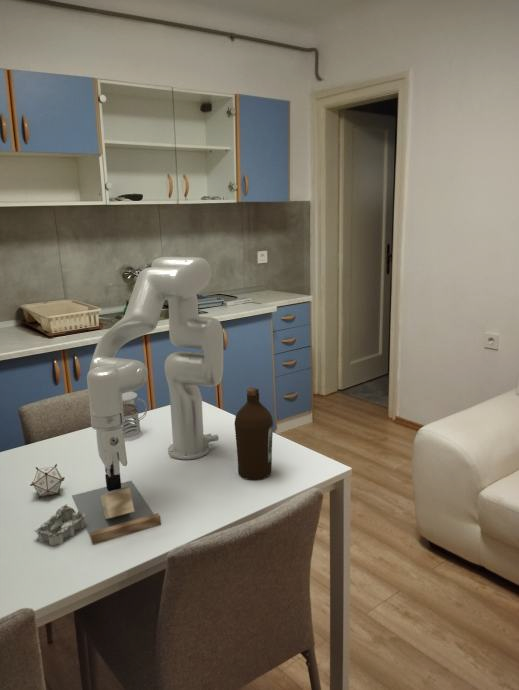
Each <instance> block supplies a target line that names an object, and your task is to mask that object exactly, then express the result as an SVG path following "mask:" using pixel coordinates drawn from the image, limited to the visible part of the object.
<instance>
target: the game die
mask: <svg viewBox="0 0 519 690" xmlns="http://www.w3.org/2000/svg"><path fill="white" fill-rule="evenodd" d="M57 466H58V464H57V463H55V465H54V466H49V467H43V468H38V467H37V466H35V469H36V473H35V477H34V479H33V481H32V482H31V483H30V484H29V486H31V487H32V486H33V488H34V489H35V491H36V492H37V494H38V495H39V496H38V499H41V498H42V497H45V496H51V495H57V496H60V495H61V493H60V488H61V485H62V482H63V481H65V478H66V477H65V476H61V474H60V472H59V470H58V468H57Z"/></svg>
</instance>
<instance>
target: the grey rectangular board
mask: <svg viewBox="0 0 519 690" xmlns="http://www.w3.org/2000/svg"><path fill="white" fill-rule="evenodd" d="M125 487H130V492H131V497H132V502H133V507H134V512H130V513H127V514H123V515H120V516H116V517H112V518H108V519H105V515H104V510H103V505H102V499H101V494H103V493H105V492H109V491H108V490H107V487H106V486H104V487H100V488H97V489H96V488H95V489H92V490H88V491H85V492H80V493H76V494H73V495H71V497H72V500H73V501H74V504H75V507H76V509H77V512H78V511H80V512H81V513H85V514H87V515H85V516H84V521H85V522H84V523H85V527H84V528H85V529H86V532H87V534H88V537H89V539H90V540H91V533H90V532H93V531H97V530H100V529H104V528H107V527H111V526H114V525H118V524H121V523H125V522H128V521H132V520H135V519H139V518H142V517H146V516H149V515H153V514H155V513H154V512H153V510H152V509H151V507H150V505H148V503H147V501H146V500H145V499H144V497H143V495H142V494H141V493H140V491H139V489H138V488H137V486H135V484H134V483H133V481H132V480H127V481H124V482H121V488H125Z"/></svg>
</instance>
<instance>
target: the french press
mask: <svg viewBox="0 0 519 690" xmlns="http://www.w3.org/2000/svg"><path fill="white" fill-rule="evenodd" d="M137 396H138V393H137V392H135V391H131V392H127V393H123V394H122V402H123V403H124V404H123V413H124V425H123V426H121V427H122V431H123V435H124V441H125V442H131V441H134V440H137V439H140V438H141V437H143V435H144V432H143V431H142V430H141V423H140V422H141V420H143V419H145V417H146V415H147V412H148V408H147V404H146V402H145V400H143V399H142V398H140V397H137ZM133 400H136V404H138V403H139V401H140V402H143V404H144V407H145V409H144V413H143V414H142V416H140V417H139V410H138V409H137V408H138V407H137V405H136V404H133V403H126V402H130V401H133Z"/></svg>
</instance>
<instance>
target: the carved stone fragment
mask: <svg viewBox="0 0 519 690" xmlns="http://www.w3.org/2000/svg"><path fill="white" fill-rule="evenodd" d="M85 515H87V514H85V513H81V512H80V511H78V510H77V512H76V510H75V509H74V508H73V507H71V506H68V504H67V503H66V504H64V505H63V506H61V507H60V508H59V509H57V510H56V512H55V514H53V515H51V516H50V518H49V519H47V520H46V521H45V522H43V523H42V524H41V525H40V526H39V527H38V528H36V529H35V530H34V532H35V533H36V534H37V535H38V542H41V543H43V542H46V541H48V542H49V545H50V546H55V545H62V544H63V543H64V539H65V538H68V537H73V536H74V535H75V533H76V530H78V529H85V528H86V527H85V523H84V522H85V521H84V516H85ZM65 521H69V524H65V525H63V522H65Z"/></svg>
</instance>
